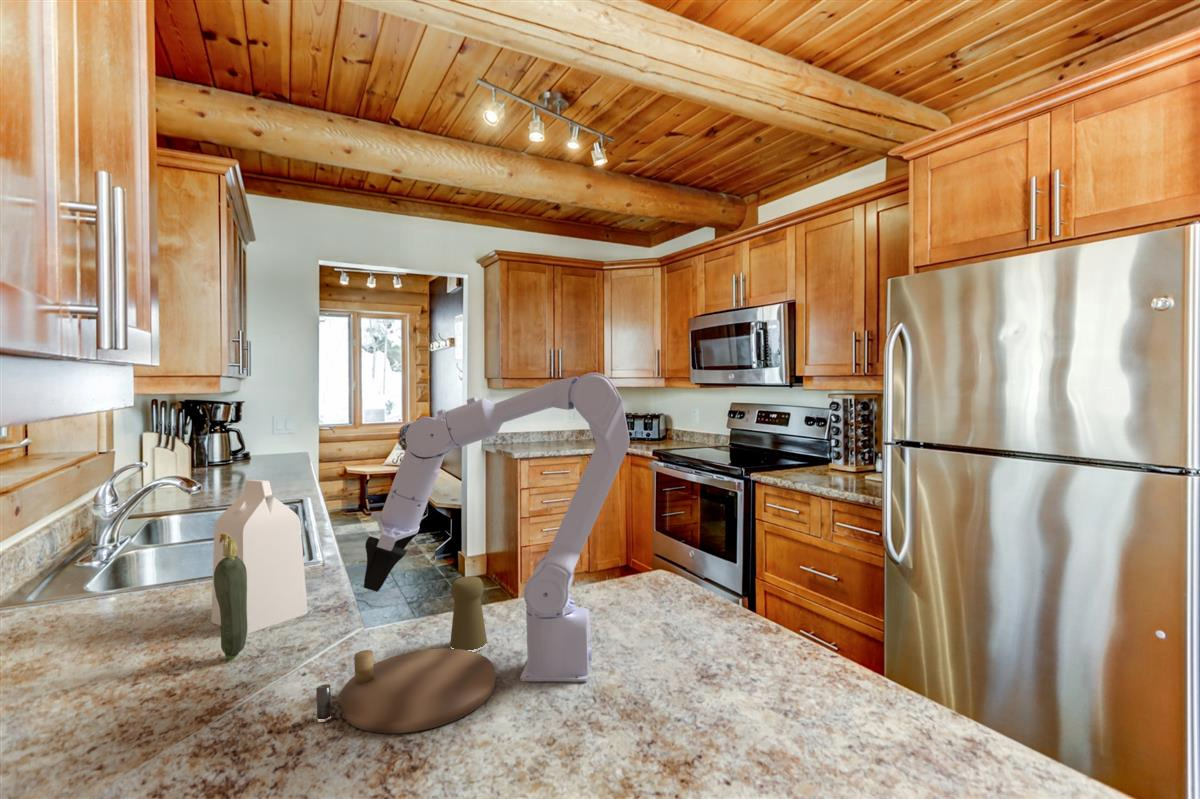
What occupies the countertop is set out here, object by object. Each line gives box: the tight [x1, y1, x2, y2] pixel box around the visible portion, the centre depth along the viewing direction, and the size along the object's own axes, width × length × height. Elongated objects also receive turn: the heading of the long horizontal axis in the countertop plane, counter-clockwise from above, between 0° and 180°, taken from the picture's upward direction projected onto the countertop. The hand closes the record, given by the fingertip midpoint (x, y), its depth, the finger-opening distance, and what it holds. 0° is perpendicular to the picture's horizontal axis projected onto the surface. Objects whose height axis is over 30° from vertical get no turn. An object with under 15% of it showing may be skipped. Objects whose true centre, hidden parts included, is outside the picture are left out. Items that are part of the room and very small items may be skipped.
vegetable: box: [214, 533, 248, 661], centre depth 89 cm, size 4×4×20 cm
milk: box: [211, 478, 309, 635], centre depth 108 cm, size 12×12×26 cm
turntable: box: [340, 647, 497, 734], centre depth 78 cm, size 20×20×5 cm
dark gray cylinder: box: [315, 683, 332, 719], centre depth 77 cm, size 17×14×4 cm
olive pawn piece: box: [449, 575, 488, 651], centre depth 93 cm, size 6×6×11 cm
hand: (377, 578), depth 85 cm, fingers open, 7 cm apart
